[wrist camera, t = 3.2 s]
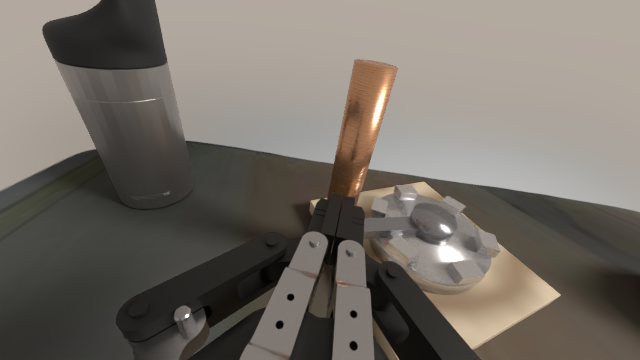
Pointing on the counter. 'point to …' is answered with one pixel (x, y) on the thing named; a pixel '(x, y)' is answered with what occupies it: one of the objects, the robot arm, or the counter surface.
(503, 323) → the nut base plate
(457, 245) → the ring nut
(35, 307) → the counter surface
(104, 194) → the counter surface
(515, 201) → the counter surface
